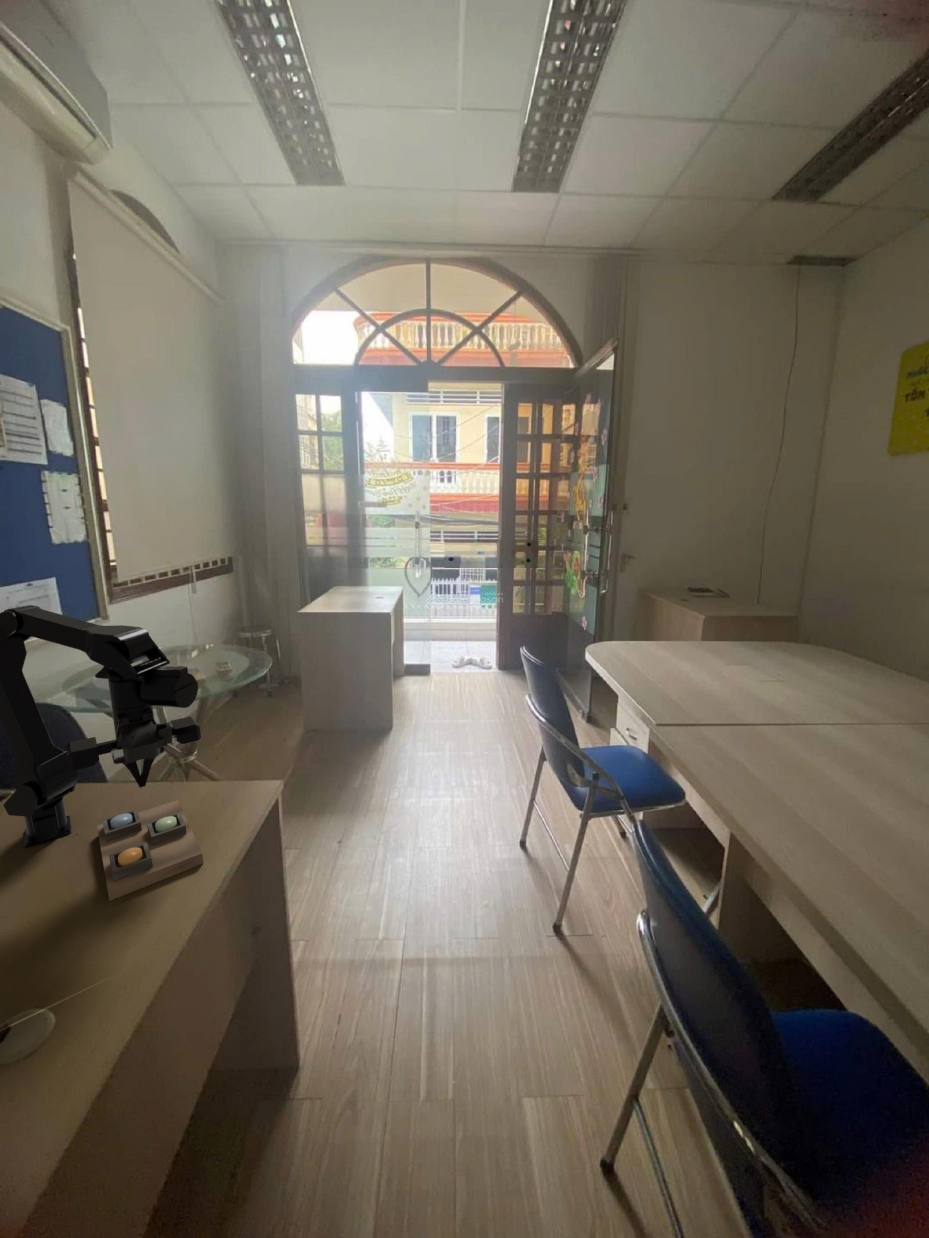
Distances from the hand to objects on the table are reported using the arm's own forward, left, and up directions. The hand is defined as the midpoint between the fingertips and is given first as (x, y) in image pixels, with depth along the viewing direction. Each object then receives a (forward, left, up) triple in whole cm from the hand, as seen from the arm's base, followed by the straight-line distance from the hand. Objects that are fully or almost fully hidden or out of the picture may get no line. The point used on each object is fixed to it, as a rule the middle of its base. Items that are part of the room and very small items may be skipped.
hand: (142, 786), depth 86 cm
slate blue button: (-4, -3, -8) cm, 10 cm away
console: (+2, 0, -11) cm, 11 cm away
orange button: (+8, -3, -8) cm, 12 cm away
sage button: (+2, +3, -8) cm, 9 cm away
